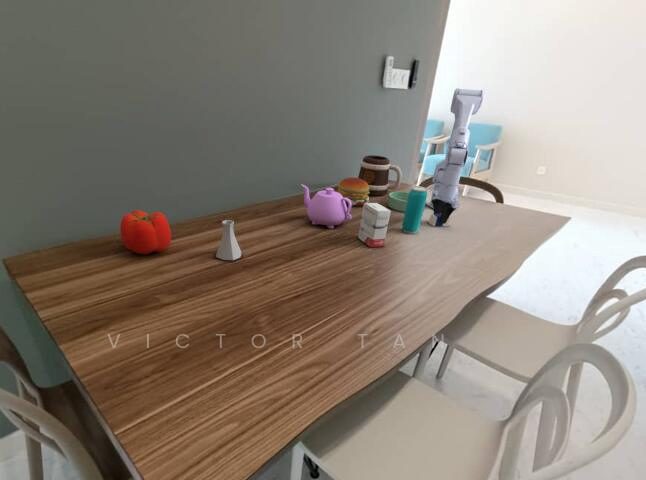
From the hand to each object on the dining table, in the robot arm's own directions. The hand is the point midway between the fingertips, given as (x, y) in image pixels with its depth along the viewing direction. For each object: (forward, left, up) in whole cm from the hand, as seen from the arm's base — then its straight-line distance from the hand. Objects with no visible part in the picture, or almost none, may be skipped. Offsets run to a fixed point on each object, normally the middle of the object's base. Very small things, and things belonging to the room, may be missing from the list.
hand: (439, 221), depth 145 cm
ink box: (+33, +14, -1) cm, 36 cm away
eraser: (0, 0, -1) cm, 1 cm away
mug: (+7, -41, -1) cm, 42 cm away
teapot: (+43, -5, -1) cm, 43 cm away
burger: (+24, -27, -1) cm, 36 cm away
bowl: (+3, -20, -1) cm, 20 cm away
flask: (+79, +20, -1) cm, 81 cm away
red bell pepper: (+101, +14, -1) cm, 102 cm away
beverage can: (+15, +6, -1) cm, 16 cm away
